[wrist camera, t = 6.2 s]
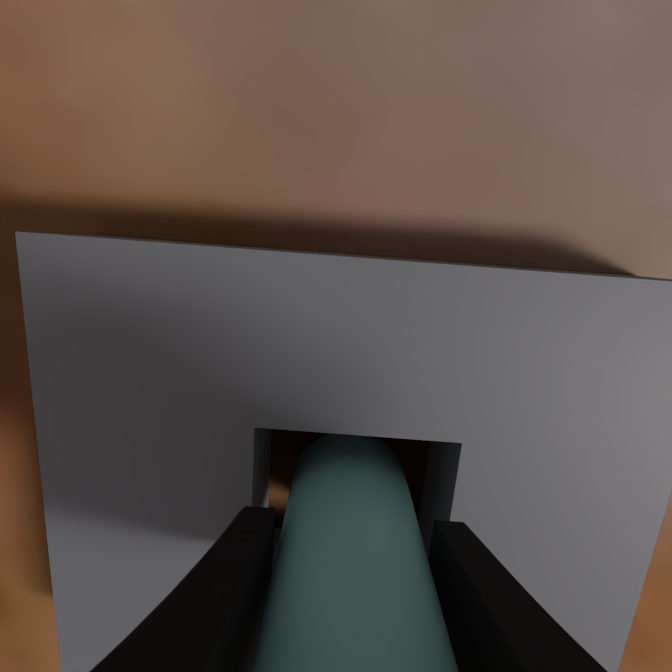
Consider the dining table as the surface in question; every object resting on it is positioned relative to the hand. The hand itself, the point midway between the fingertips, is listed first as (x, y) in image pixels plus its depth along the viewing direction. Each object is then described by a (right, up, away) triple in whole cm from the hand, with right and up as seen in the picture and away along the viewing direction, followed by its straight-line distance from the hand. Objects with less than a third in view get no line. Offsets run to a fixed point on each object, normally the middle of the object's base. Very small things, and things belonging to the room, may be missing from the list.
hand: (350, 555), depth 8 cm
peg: (0, +1, +2) cm, 2 cm away
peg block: (0, +1, +3) cm, 3 cm away
